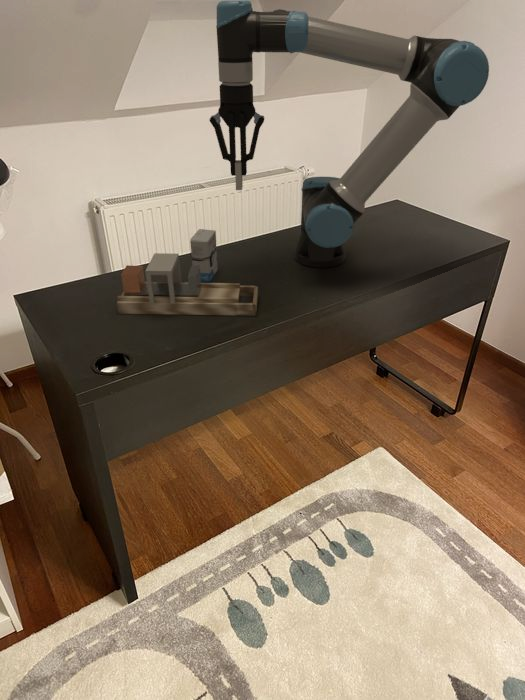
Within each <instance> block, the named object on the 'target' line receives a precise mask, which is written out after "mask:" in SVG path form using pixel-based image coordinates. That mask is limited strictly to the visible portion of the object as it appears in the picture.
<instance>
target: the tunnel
mask: <svg viewBox="0 0 525 700" xmlns="http://www.w3.org/2000/svg"><path fill="white" fill-rule="evenodd" d="M144 271H145V278H146V282H147V286H148V293H149V300H150V303H154V302H155V300H154V293H153V285H152V282H153V281H152V280H153V278H152V276H156V282H168V286H169V294H170V303H171V304H175V295H174V286H173V282H178V283H182V275H181V264H180V254H179V253H164V252H163V253H161V252H160V253H154V254H153V256H152V257H151V259H150V261H149V263H148V265H147V267H146V269H145V270H144Z"/></svg>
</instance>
